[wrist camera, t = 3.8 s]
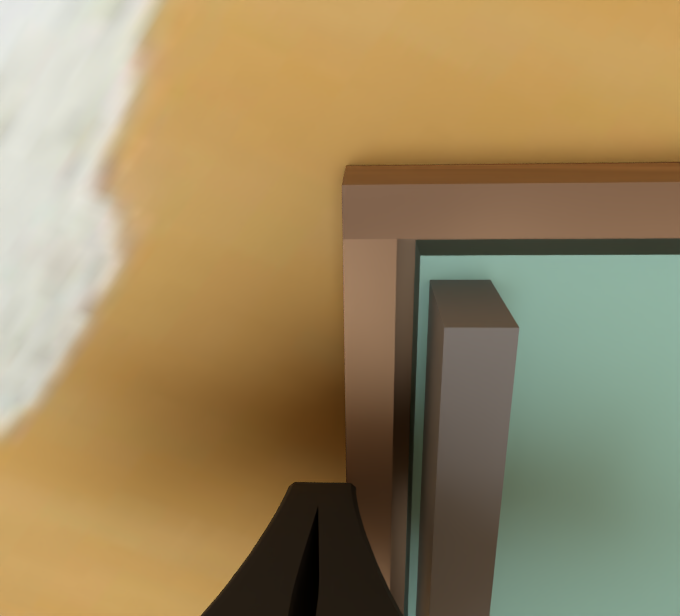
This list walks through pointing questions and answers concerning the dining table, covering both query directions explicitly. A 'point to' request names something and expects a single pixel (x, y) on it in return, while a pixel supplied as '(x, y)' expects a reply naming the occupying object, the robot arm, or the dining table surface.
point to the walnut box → (398, 287)
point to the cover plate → (544, 429)
